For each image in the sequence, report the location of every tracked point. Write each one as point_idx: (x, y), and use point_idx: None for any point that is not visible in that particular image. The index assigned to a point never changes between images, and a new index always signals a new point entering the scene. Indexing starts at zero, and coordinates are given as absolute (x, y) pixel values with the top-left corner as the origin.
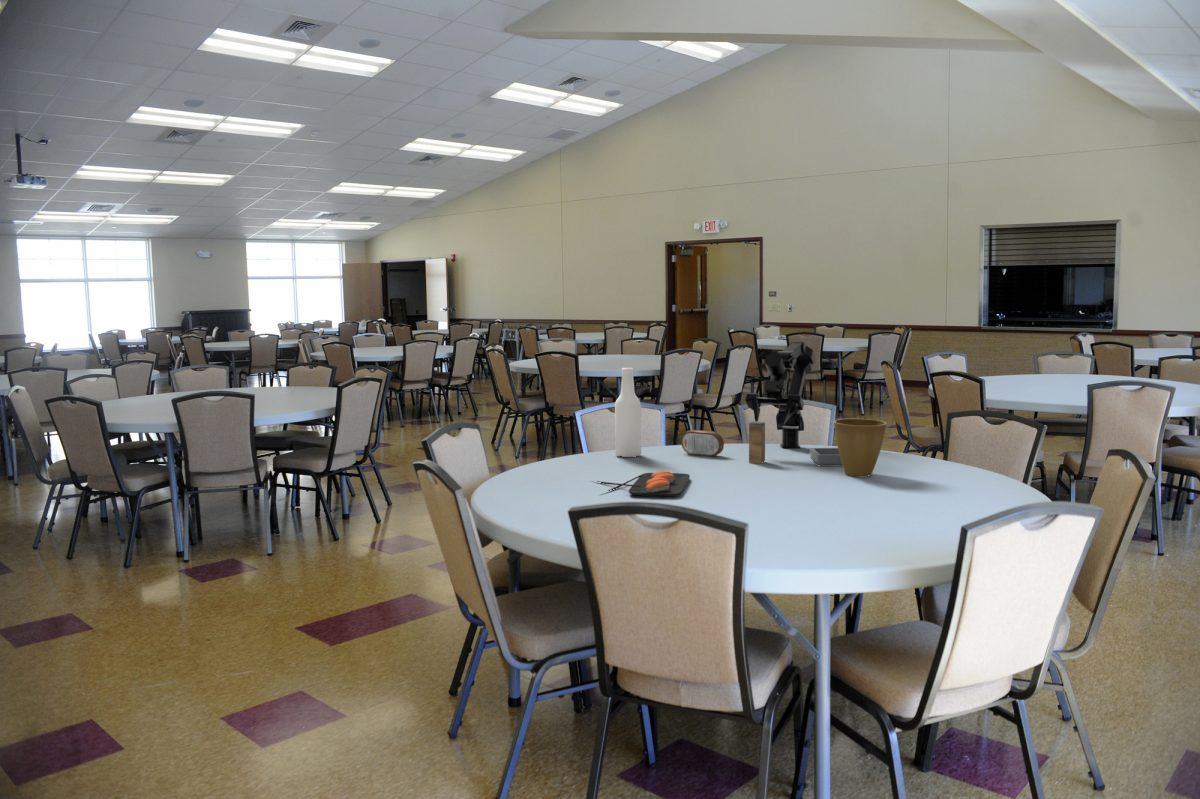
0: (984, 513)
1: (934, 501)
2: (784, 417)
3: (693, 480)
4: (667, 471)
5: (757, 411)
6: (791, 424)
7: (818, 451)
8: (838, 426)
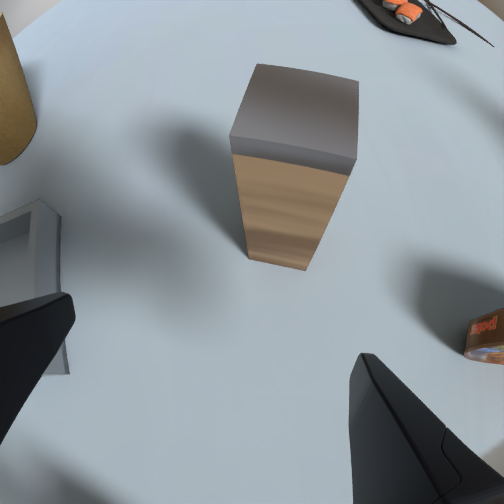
0: (16, 35)
1: (24, 44)
2: (24, 308)
3: (368, 23)
4: (406, 7)
5: (400, 469)
6: None
7: None
8: (4, 20)
